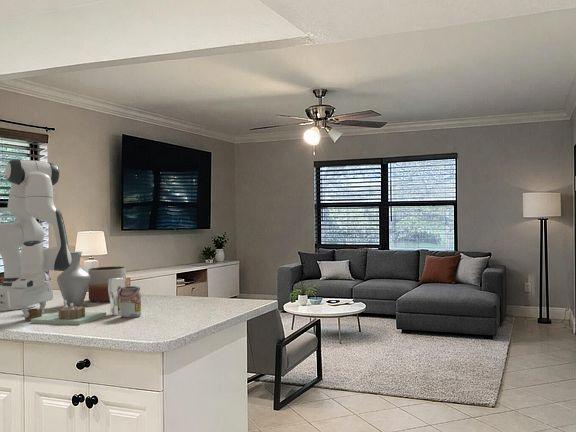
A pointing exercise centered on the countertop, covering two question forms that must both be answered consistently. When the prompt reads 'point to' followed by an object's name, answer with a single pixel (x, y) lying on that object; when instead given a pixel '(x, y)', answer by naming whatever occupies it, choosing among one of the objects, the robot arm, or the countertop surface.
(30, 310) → the gear
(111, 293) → the beer glass
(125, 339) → the countertop surface
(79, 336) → the countertop surface
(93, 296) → the planter
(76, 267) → the vase
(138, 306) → the beverage can
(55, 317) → the board
